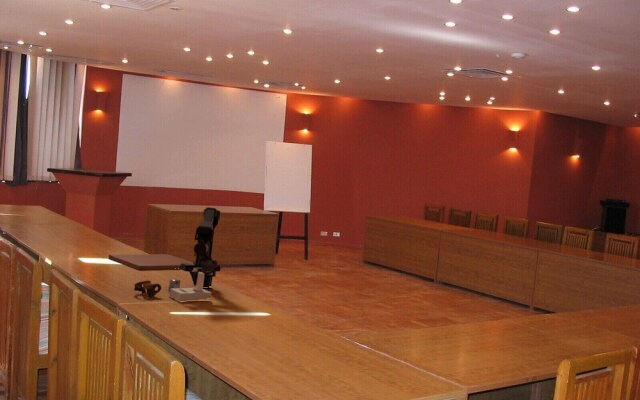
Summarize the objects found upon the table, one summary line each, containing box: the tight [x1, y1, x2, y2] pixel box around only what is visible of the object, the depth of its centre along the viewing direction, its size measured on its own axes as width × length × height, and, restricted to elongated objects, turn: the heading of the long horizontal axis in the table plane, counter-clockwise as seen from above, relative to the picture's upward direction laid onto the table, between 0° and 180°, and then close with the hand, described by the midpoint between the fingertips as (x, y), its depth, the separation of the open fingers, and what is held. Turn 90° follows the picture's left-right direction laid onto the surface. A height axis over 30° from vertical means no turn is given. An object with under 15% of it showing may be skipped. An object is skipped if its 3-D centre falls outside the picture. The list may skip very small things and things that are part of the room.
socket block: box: [168, 287, 213, 301], centre depth 322 cm, size 16×10×4 cm, turn 130°
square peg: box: [192, 272, 204, 291], centre depth 324 cm, size 3×3×8 cm
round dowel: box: [168, 278, 181, 293], centre depth 332 cm, size 5×5×6 cm
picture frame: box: [108, 253, 194, 271], centre depth 402 cm, size 40×3×33 cm
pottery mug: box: [133, 280, 162, 299], centre depth 317 cm, size 12×9×8 cm
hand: (198, 285), depth 324 cm, fingers closed on square peg, 3 cm apart
